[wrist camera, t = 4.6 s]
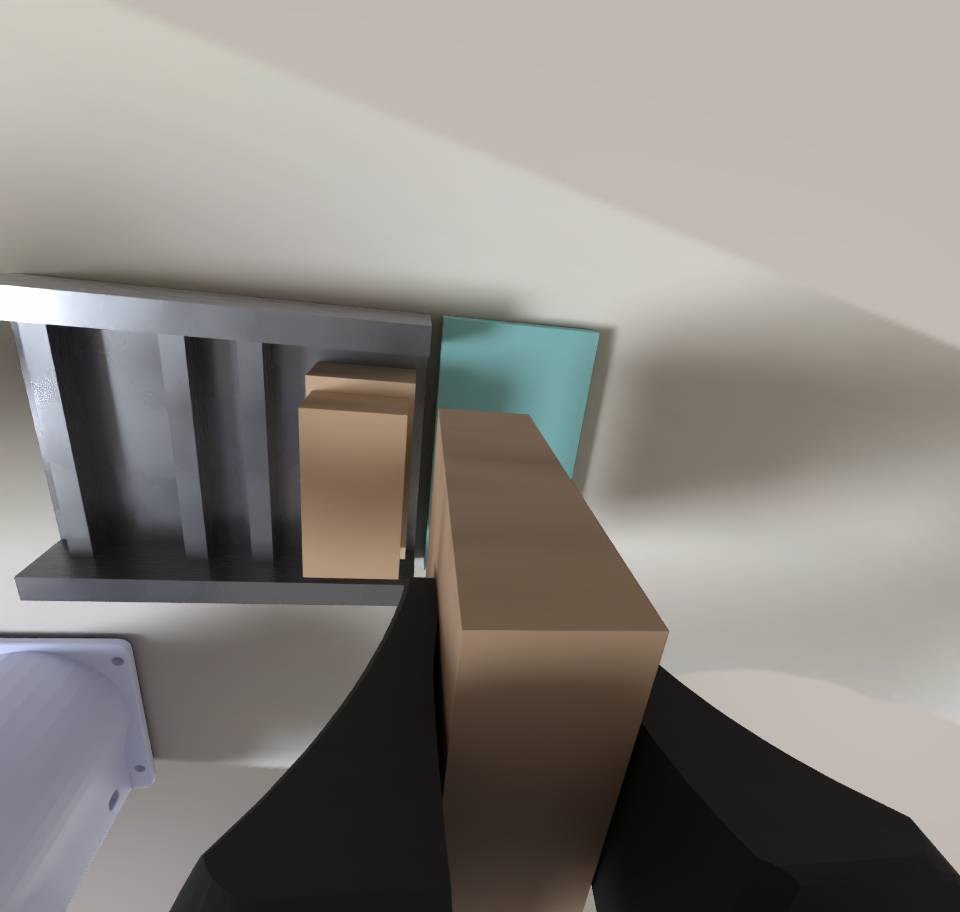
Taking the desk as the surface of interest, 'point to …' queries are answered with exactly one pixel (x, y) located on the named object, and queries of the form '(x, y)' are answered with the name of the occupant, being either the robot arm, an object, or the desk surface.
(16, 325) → the rack
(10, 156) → the desk surface
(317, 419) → the offcut upper
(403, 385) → the offcut lower
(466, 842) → the walnut panel
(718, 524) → the desk surface
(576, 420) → the teal mat
